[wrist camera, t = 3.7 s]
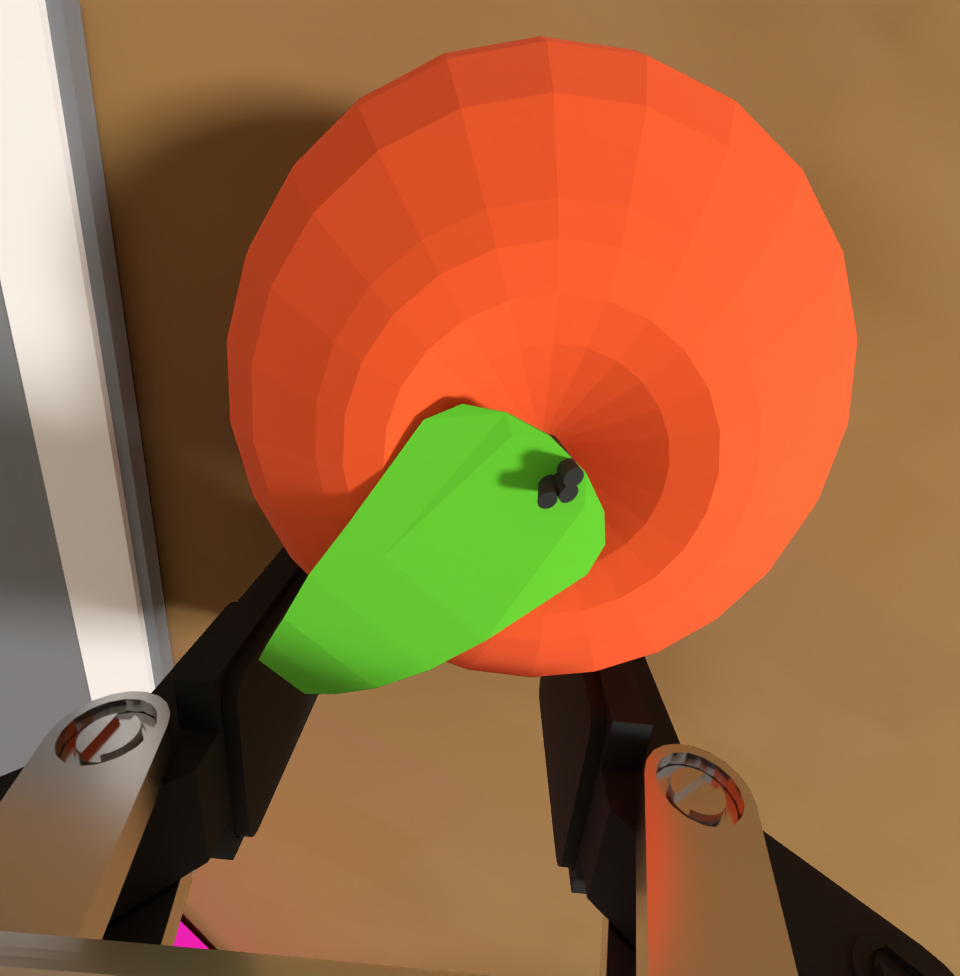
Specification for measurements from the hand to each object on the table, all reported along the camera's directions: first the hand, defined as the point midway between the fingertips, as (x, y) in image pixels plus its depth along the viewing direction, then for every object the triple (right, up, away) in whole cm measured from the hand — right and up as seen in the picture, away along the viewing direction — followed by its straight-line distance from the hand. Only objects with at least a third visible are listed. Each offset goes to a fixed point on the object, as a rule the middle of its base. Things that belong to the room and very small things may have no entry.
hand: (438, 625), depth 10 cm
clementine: (+1, +5, 0) cm, 5 cm away
